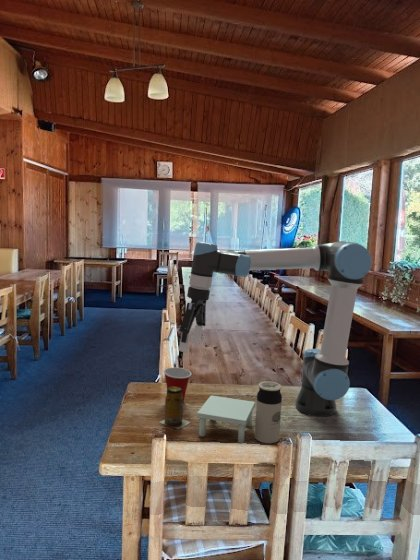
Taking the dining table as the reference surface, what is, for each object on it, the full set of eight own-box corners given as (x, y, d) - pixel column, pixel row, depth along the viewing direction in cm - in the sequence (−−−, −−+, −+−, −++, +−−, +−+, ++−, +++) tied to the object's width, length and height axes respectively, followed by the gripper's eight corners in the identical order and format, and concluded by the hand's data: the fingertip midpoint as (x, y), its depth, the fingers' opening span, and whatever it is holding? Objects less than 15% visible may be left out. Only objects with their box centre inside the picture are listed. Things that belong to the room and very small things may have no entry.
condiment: (172, 416, 160) (173, 383, 159) (191, 422, 155) (192, 389, 154) (158, 422, 154) (159, 389, 153) (177, 430, 150) (179, 395, 148)
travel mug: (250, 434, 148) (253, 382, 146) (270, 431, 152) (273, 379, 149) (262, 445, 141) (266, 391, 139) (283, 441, 144) (287, 388, 142)
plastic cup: (186, 408, 167) (187, 377, 166) (159, 404, 169) (160, 374, 168) (193, 397, 178) (194, 368, 176) (167, 394, 180) (168, 365, 179)
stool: (253, 423, 156) (255, 401, 155) (244, 444, 141) (245, 420, 140) (209, 416, 161) (210, 395, 160) (196, 436, 146) (197, 412, 145)
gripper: (200, 282, 165) (191, 337, 168) (176, 288, 142) (165, 352, 144) (219, 286, 163) (210, 342, 166) (198, 293, 140) (187, 358, 142)
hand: (189, 347), depth 155 cm, fingers open, 13 cm apart
